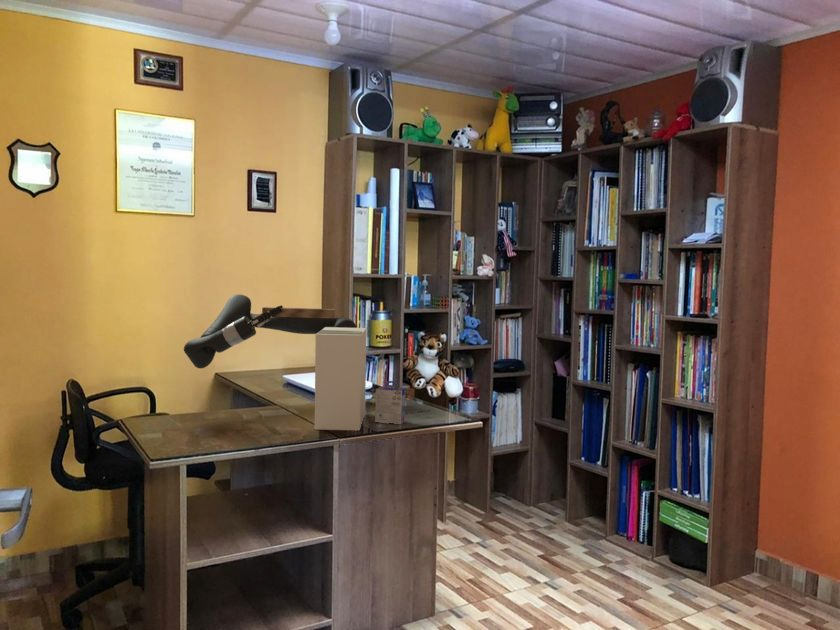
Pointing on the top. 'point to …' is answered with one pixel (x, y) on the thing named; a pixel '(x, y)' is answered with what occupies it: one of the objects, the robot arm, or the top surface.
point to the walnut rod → (303, 312)
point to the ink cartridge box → (390, 404)
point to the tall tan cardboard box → (340, 378)
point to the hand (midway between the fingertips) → (281, 308)
